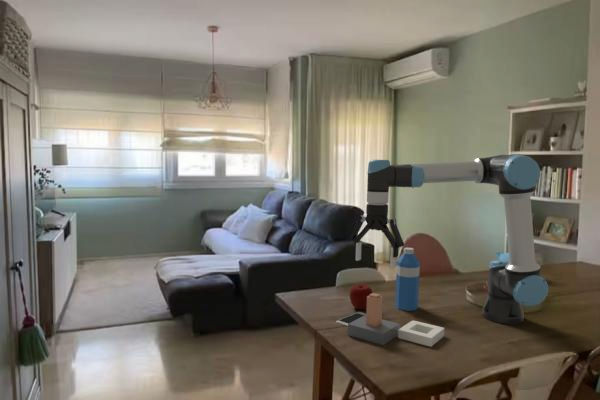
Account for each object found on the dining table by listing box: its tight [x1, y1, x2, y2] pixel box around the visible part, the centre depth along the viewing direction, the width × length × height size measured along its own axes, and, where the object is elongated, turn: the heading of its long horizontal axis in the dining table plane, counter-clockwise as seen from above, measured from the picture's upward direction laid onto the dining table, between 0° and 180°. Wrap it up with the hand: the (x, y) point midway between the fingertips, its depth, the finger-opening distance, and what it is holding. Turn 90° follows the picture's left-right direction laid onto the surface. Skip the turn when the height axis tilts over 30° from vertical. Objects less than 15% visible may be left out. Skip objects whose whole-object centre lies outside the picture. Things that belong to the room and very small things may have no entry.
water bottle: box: [394, 247, 421, 311], centre depth 196 cm, size 9×9×25 cm
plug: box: [365, 292, 383, 327], centre depth 166 cm, size 4×4×15 cm
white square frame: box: [397, 320, 445, 348], centre depth 165 cm, size 12×12×3 cm
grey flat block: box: [347, 315, 401, 346], centre depth 166 cm, size 14×12×4 cm
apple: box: [349, 283, 373, 311], centre depth 194 cm, size 10×10×10 cm
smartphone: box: [335, 311, 366, 327], centre depth 181 cm, size 7×15×1 cm, turn 137°
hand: (375, 263), depth 167 cm, fingers open, 13 cm apart
